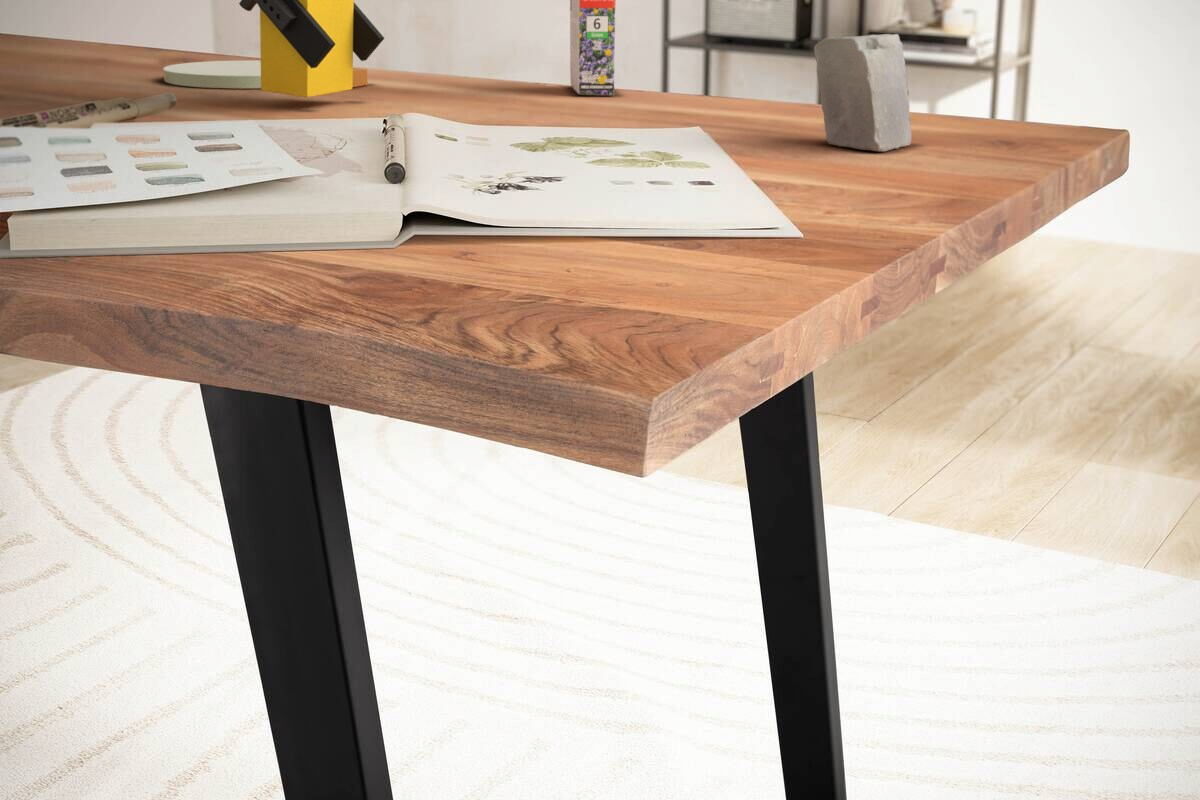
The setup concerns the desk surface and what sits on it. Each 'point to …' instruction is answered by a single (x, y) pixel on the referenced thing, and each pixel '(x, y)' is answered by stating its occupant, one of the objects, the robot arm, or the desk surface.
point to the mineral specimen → (864, 91)
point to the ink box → (592, 46)
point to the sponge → (290, 71)
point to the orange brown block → (359, 77)
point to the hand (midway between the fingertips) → (348, 52)
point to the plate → (215, 74)
